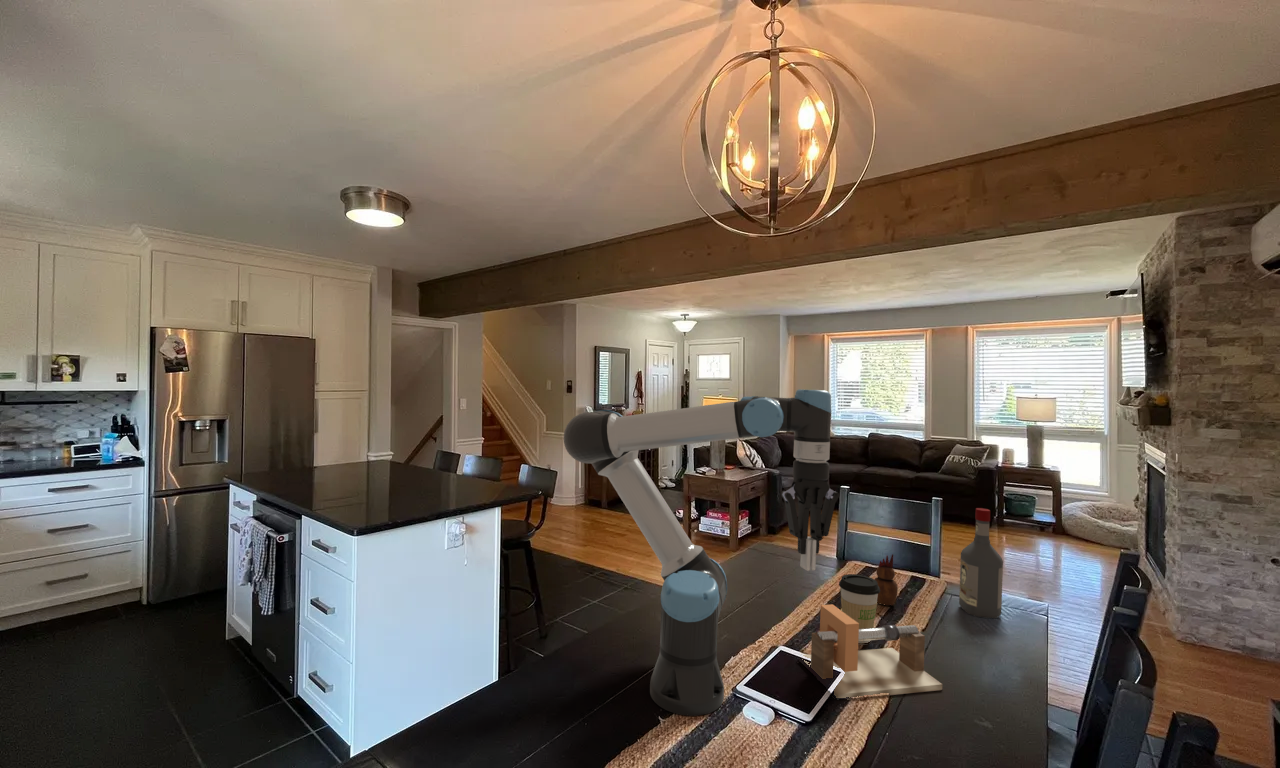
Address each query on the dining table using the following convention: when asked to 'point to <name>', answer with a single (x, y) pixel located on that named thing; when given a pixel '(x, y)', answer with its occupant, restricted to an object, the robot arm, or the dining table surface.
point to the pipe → (875, 633)
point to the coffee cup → (859, 599)
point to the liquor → (981, 573)
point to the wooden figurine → (886, 582)
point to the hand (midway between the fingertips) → (807, 568)
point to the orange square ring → (841, 636)
